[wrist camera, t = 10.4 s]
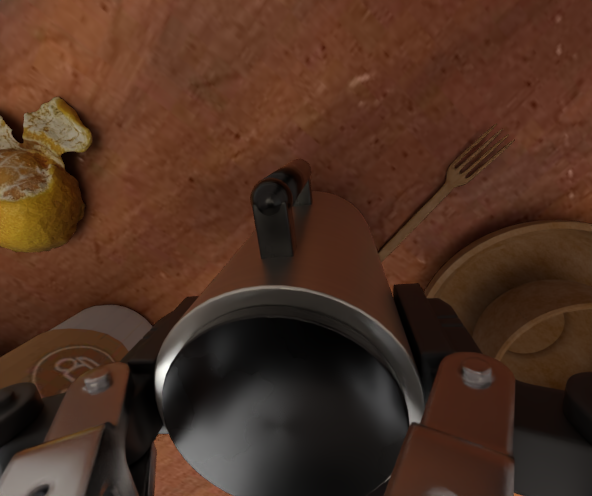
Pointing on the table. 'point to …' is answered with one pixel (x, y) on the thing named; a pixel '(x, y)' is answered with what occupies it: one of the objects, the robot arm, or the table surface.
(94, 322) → the coffee cup
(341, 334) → the steel travel mug
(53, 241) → the fruit
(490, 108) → the table surface
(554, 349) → the place setting
